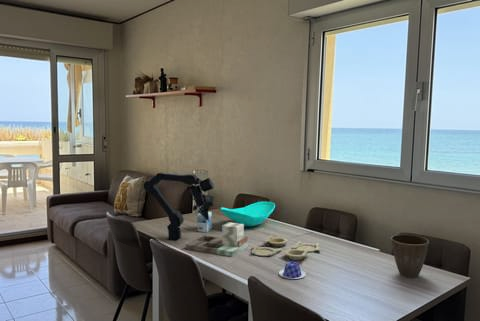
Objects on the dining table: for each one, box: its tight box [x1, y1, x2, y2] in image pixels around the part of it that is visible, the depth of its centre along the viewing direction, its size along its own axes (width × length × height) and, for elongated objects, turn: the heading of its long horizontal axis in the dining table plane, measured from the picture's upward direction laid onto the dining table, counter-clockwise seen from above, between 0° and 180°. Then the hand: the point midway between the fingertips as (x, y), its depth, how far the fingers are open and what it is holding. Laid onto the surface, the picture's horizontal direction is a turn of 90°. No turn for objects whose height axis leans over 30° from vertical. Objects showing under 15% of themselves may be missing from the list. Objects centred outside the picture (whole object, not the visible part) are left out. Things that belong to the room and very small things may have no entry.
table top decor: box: [220, 201, 276, 228], centre depth 251 cm, size 40×28×13 cm
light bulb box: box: [196, 211, 213, 233], centre depth 241 cm, size 11×7×11 cm, turn 168°
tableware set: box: [251, 234, 322, 261], centre depth 199 cm, size 35×29×4 cm
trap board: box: [185, 234, 249, 257], centre depth 205 cm, size 28×19×6 cm
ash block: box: [221, 221, 245, 246], centre depth 204 cm, size 9×8×10 cm
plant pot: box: [390, 234, 430, 279], centre depth 165 cm, size 15×15×16 cm
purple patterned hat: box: [278, 261, 307, 280], centre depth 167 cm, size 12×12×5 cm
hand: (207, 219), depth 218 cm, fingers closed
